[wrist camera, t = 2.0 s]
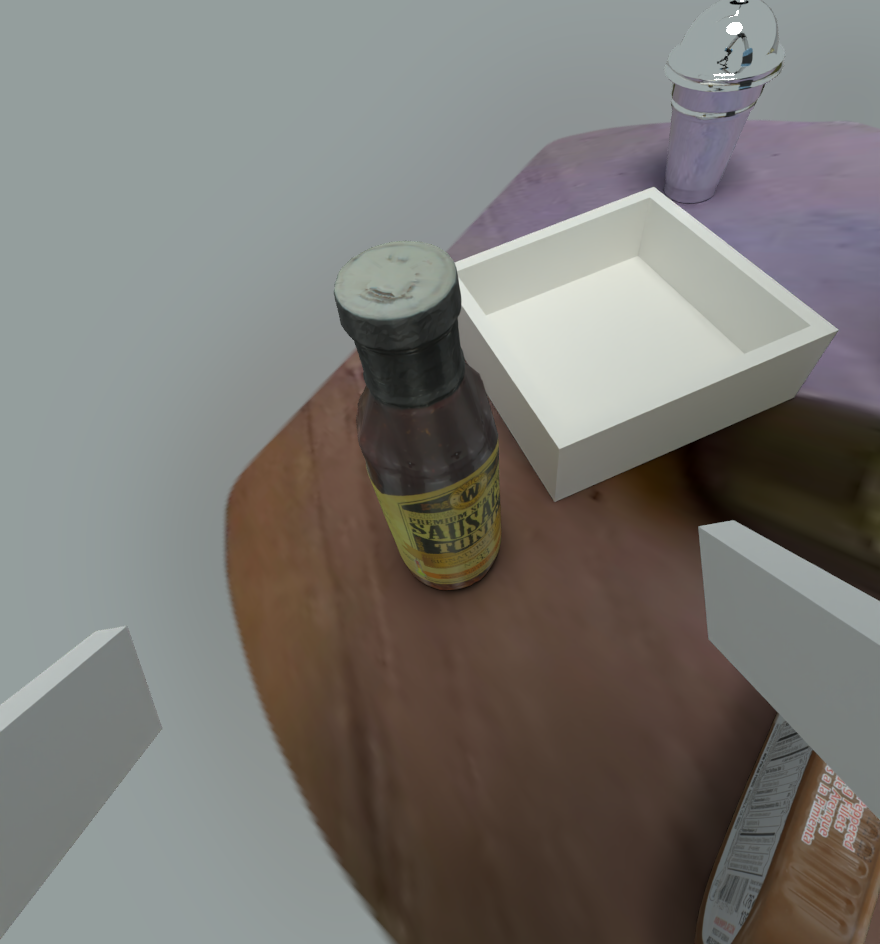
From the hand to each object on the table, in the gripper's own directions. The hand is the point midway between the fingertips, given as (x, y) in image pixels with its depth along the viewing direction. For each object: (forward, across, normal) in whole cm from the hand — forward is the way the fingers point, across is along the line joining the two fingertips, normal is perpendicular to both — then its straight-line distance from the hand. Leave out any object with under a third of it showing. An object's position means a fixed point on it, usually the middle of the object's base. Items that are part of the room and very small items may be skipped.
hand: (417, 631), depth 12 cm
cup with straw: (+43, +27, +17) cm, 53 cm away
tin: (+10, +13, -17) cm, 23 cm away
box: (+29, +13, +4) cm, 32 cm away
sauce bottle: (+20, 0, -6) cm, 21 cm away
